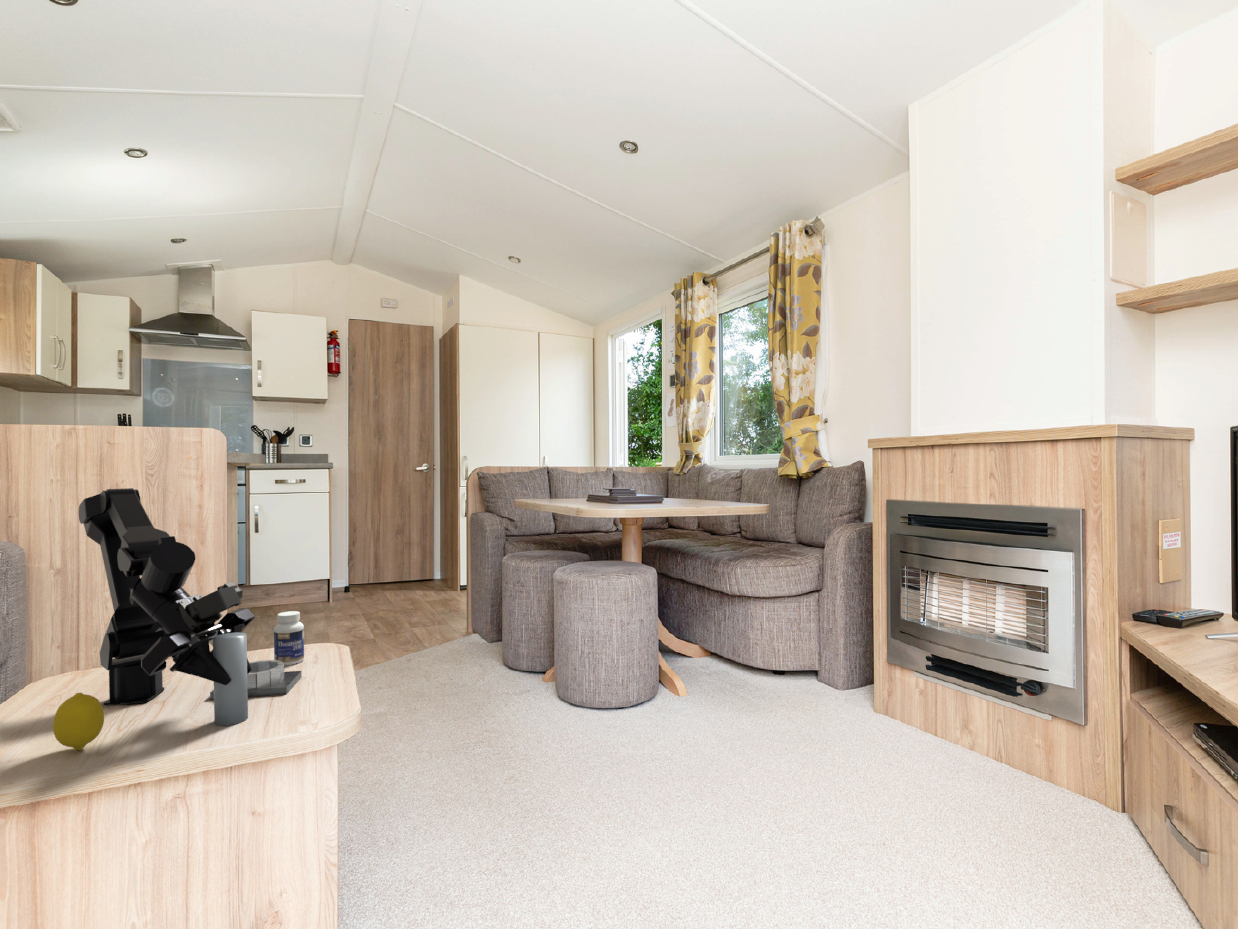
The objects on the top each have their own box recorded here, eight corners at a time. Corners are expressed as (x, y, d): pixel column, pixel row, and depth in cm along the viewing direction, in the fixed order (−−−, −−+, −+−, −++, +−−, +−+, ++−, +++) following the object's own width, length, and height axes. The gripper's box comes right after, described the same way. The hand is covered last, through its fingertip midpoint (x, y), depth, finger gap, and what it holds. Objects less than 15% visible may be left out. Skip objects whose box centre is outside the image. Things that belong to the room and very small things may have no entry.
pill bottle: (275, 668, 129) (274, 617, 129) (273, 660, 134) (272, 612, 134) (305, 663, 132) (305, 614, 132) (303, 656, 137) (302, 609, 136)
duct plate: (210, 699, 112) (209, 677, 112) (230, 682, 121) (230, 661, 121) (286, 694, 115) (286, 672, 115) (301, 677, 124) (301, 657, 123)
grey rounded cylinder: (209, 726, 101) (207, 641, 101) (221, 715, 105) (219, 633, 105) (241, 724, 102) (240, 639, 101) (252, 713, 106) (250, 631, 106)
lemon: (77, 760, 90) (75, 701, 90) (43, 757, 91) (41, 699, 91) (114, 742, 96) (113, 687, 96) (82, 740, 97) (81, 685, 97)
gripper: (158, 580, 94) (234, 659, 93) (242, 560, 113) (306, 625, 112) (107, 635, 95) (182, 714, 94) (199, 606, 113) (262, 672, 113)
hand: (239, 677), depth 103 cm, fingers closed on grey rounded cylinder, 4 cm apart
